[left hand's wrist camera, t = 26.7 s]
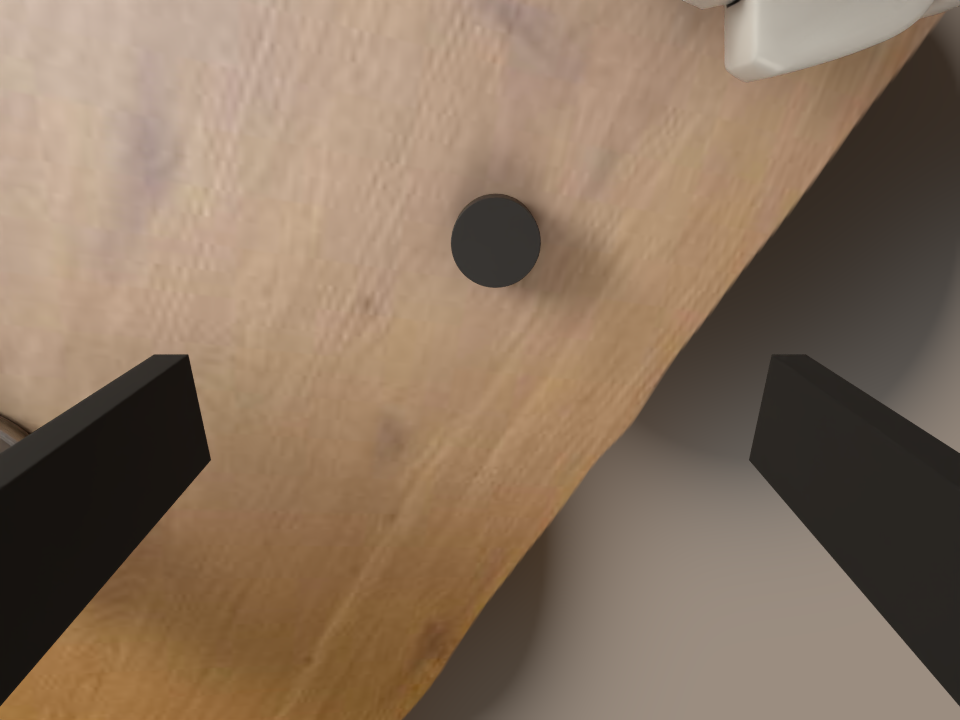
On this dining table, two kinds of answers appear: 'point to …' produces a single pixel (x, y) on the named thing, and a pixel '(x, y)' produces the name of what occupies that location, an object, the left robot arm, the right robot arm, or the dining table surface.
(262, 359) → the dining table surface
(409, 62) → the dining table surface
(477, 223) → the lid
